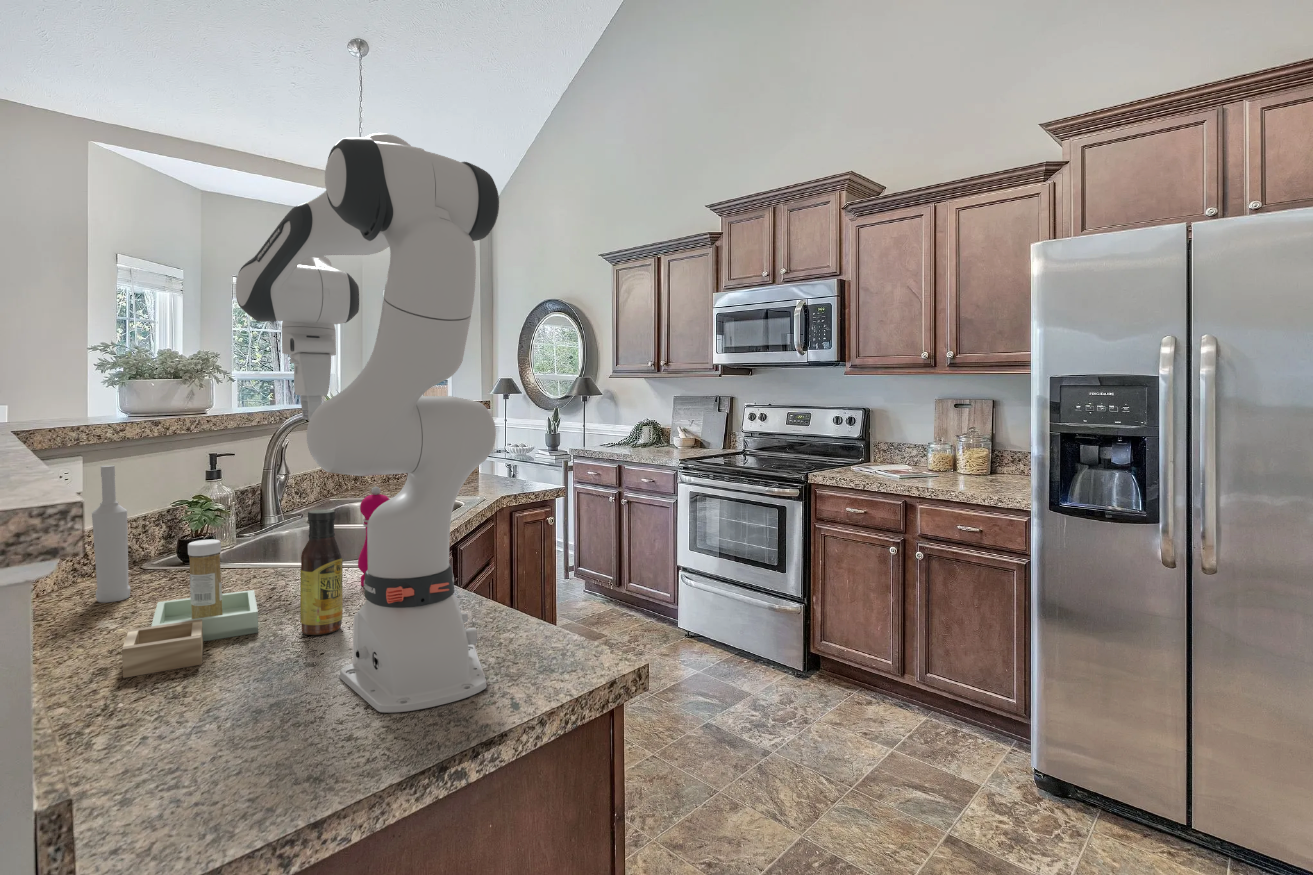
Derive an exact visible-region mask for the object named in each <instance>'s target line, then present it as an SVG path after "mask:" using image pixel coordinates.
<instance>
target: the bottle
mask: <svg viewBox="0 0 1313 875" xmlns="http://www.w3.org/2000/svg"><path fill="white" fill-rule="evenodd" d="M115 466H116V465H101V466H100V477H101V497H102V499H101V502H100V504H99V506H98V507H97V508H95V510H94V511H92V512H91V519H92V520H91V521H92V522H91V523H92V533H93V534H92V535H93V548H94V561H95V562H94V564H95V575H96V588H97V589H96V591H95V598H96V601H97V602H98V603H102V604H103V603H114V602H119V601H124V600H127V599H129V598H130V596H131V586H130V585H129V544H128V542H129V541H128V538H129V537H128V535H129V534H128V509H126V508H125V507H123V506H122V505H120V504H119V501H117V496H116V494H117V492H116V468H115Z"/></svg>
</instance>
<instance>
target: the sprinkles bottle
mask: <svg viewBox="0 0 1313 875" xmlns="http://www.w3.org/2000/svg"><path fill="white" fill-rule="evenodd" d="M221 542H222V541H221V540H219V539H209V538H208V539H201V540H195V541H194V540H193V541H191V542H189V543H187V555H188V558H189V593H190V594H189V595H190V597H189V598H191V609H192V619H197V618H204V617H211V616H218V615H223V614H222V594H223V585H222V573H221V552H222V544H221Z"/></svg>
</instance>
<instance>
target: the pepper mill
mask: <svg viewBox="0 0 1313 875" xmlns="http://www.w3.org/2000/svg"><path fill="white" fill-rule="evenodd" d="M370 491H371V494H370V495H367V496H365V497H364V498H363V499H362V500H361V502H360V506H359V509H360V513H361V515H363V517H364V518H363V520H362V521H363V524H362V526H363V527H365V539H364V543H363V545H362V548H361V550H360V553H359V556H358V559H357V560H358V561H357V567H358V569H359V570H360V571H361V573H363V574H362V575H360V585H361V586H362V587H363V588H364V580H365V572H366V571H367V570H368V552H367V524H368V521H369V518H370V516H371V515H372V513H373V512H374V511H375V509H376V508H377V507H379V506H380V505H381V504H383V503H384V502H386V501H388V500H389V499H390V498H389V497H388V496H387V495H384V494H381V491H382V490H381V488H380V487H379V486H374V487H372V488H371V490H370Z"/></svg>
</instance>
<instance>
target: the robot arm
mask: <svg viewBox="0 0 1313 875" xmlns="http://www.w3.org/2000/svg"><path fill="white" fill-rule="evenodd" d="M327 157H328V158H327V162H326V165H325V171H324V186H325V191H323V192H322V193H321V194H319V195H317V196H316V197H315V198H313V199H311V200H309V201H307V202H304V203H303V202H302V203H301V204H298V205H296V206H294V207H292V208H291V209H290V210H289V212H288V213H287V214H286V215H285V216H284V218H283V219H282V220H280V222H279V223H278V225H277V226H276V228H274V231H272V232H271V234H270V236H269V237H268V238H267V239H266V241H265V242H264V244H263V245H262V246H261V247H260V249H259V251H257V253H256V254H255V255H254V256H253V257H252V258H250V259H249V260H248V261H247V262H245V263H244V264H243V265H242V266H241V268H240V269H239V271H238V274H237V277H236V280H235V296H236V302H237V304H238V306H239V307H240V309H241V310H242V311H243V312H244V313H246V314H247V316H250V317H251V318H252V319H253V320H255V321H257V322H277V321H278V322H282V323H281V351H282V354H283V355H289V357H290V359H289V360H290V364H293V387H294V388H293V390H294V394H295V395H296V396H300V405H301V413H302V417H301V418H302V419H303V420H305V421H306V420H307V421H308V423H307V424H308V425H307V428H306V443H307V447H308V448H307V449H308V451H309V453H310V455H311V457H312V458H313V460H314V462H315V463H316V464H317V465H318V466H319V467H320V468H321V469H323V471H325V472H327V473H332V474H339V475H347V476H357V477H358V476H359V477H368V476H369V477H370V476H372V477H373V476H382V475H384V476H385V475H386V476H387V475H398V474H401V475H402V474H407V477H406V479H405V480H406V481H405V483H404V485H403V486H402V488H401V490H400V491H399V492H398V493H397V494H396V495H395V496H393V497H391V498H389V500H388V501H386V502H384V503H383V504H381V505H380V506H379V507H377V508H376V509H375V511H374V512H373V513H372V515H371V516H370V518H369V521H368V524H367V552H368V570H367V571H366V572H365V580H364V587H363V589H364V598H365V599H366V600H365V602H364V603H363V605H362V607H361V608H360V609H359V610H358V611H357V612H356V613H355V614H354V615H353V625H352V629H353V630H352V632H353V633H352V662H351V663H349V664H347V665H345V666H343V667H342V668H341V669H340V670H339V679H340V680H341V681H343V682H344V683H345V684H346V685H347V686H348V687H349V688H350V689H352V691H354V692H355V693H356V694H358V696H360V697H361V698H362V699H363V700H364V701H365V702H366V703H368V704H369V705H370V706H371V707H372V708H373V709H374V710H376V711H377V712H379V713H402V712H410V711H418V710H424V709H428V708H432V707H433V708H434V707H438V706H441V705H446V704H449V703H453V702H457V701H460V700H463V699H466V698H469V697H472V696H474V695H476V694H479V693H480V692H482V691H484V690H485V689H486V688H487V687H488V686H487V680H486V676H485V673H484V670H483V667H482V664H481V661H480V659H479V655H478V653H477V650H476V646H475V645H476V644H478V631H477V628H476V627H467V628H465V624H464V623H468V620H469V617H468V612H462V611H461V607H460V598H458V597H457V596H456V595H454V594H455V577H454V576H455V575H454V573H453V566H452V565H451V564H450V537H451V536H450V535H451V522H452V521H451V520H452V514H453V510H454V507H455V503H456V500H457V498H458V495H459V493H460V491H461V489H462V487H463V485H464V484H465V482H466V481H467V479H468V478H469V476H470V475H471V474H472V473H473V472H474V471H475V470H476V469H477V467H479V466H480V465H481V464H483V462H485V461H486V460H487V459H488V457H489V456H490V455H491V453H492V451H493V448H494V446H495V443H496V436H497V435H496V434H497V433H496V432H497V430H496V429H497V428H496V424H495V420H494V418H493V416H492V414H491V412H490V411H489V410H488V408H487V407H486V406H485V405H484V404H483V403H482V402H479V401H476V400H472V399H468V398H462V397H458V396H452V395H424V394H425V393H426V392H428V390H430V389H432V388H433V387H434V386H436V385H438V384H441V383H443V382H445V381H446V380H448V379H450V378H451V377H452V376H454V375H455V374H456V372H458V370H459V368H460V367H461V365H462V363H463V360H464V355H465V351H466V345H467V344H466V343H467V339H468V336H469V335H468V334H469V330H470V329H469V328H470V323H471V318H472V313H473V305H474V300H475V291H476V276H477V275H476V272H477V270H476V269H477V267H476V266H477V259H476V258H477V256H476V255H477V254H476V245H475V241H481V240H483V239H485V238H486V237H488V235H490V233H491V231H492V230H493V228H494V227H495V225H496V223H497V220H498V216H499V211H500V196H499V192H498V187H497V185H496V183H495V180H494V179H493V177H492V176H491V174H490V173H489V172H487V171H486V170H485V169H483V168H481V167H480V166H477V165H476V164H474V163H470V162H467V161H460V160H459V161H458V160H456V159H452V158H450V157H447V156H444V155H441V154H438V153H435V152H431V151H427V150H425V149H424V148H421V147H416V146H412V145H411V144H410V143H408V141H406V140H404V139H402V138H401V137H398V136H397V135H393V134H390V133H383V132H378V133H372V134H369V135H367V136H365V137H345V138H341V139H340V140H339V141H337V142H336V144H335V145H333V147H332V148H331V150H330V152H329V155H328V156H327ZM387 248H389V252H390V253H389V254H390V255H389V256H390V257H389V266H388V271H387V274H386V281H385V285H384V292H383V298H382V307H381V314H380V319H379V325H378V329H377V333H376V334H377V335H376V339H375V343H374V347H373V350H372V353H371V355H370V357H369V359H368V361H367V363H366V364H365V366H363V369H362V370H361V371H360V373H359V374H358V375H357V377H355V378H354V380H352V382H351V383H350V384H349V385H348V386H346V387H345V388H344V389H343V390H342V391H340V392H338V393H337V394H336V395H334V396H333V397H331V398H329V399H327V400H325V401H323V400H322V397H324V396H325V397H326V396H328V394H329V391H330V384H331V373H332V372H331V371H332V356H337V344H336V343H337V341H336V340H337V335H336V333H337V332H336V327H335V325H341V324H347V323H348V322H349V321H351V320H352V319H354V317H355V316H356V315H357V314H358V313H359V311H360V289H359V288H360V287H359V285H358V283H357V282H356V280H355V279H354V278H353V277H352V275H350V273H348V272H347V271H344V270H340V269H337V268H335V267H333V265H332V262H331V260H330V259H329V258H328V257H326V256H369V255H374V254H375V255H376V254H378V253H381V252H383V251H384V250H387ZM322 401H323V402H322Z"/></svg>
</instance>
